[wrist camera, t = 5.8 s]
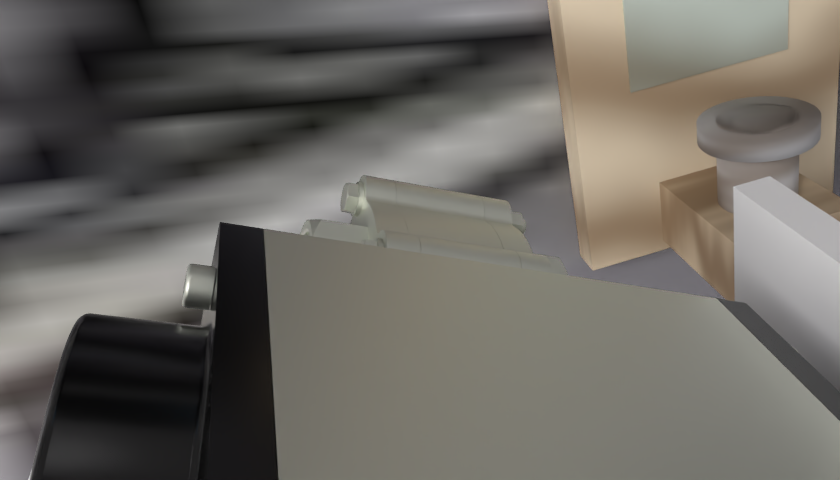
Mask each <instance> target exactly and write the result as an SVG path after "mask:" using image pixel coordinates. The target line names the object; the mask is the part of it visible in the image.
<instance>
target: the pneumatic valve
mask: <svg viewBox="0 0 840 480" xmlns="http://www.w3.org/2000/svg"><path fill="white" fill-rule="evenodd" d="M341 211H342V212H347V213H351V215H352V216H353V217H352V220H351V223H350V224H346V223H340V222H334V221H328V220H317V219H316V220H307V221H306V222H305V223H304V225H303V227H302V230H301V232H300V234H294V233H287V232H281V231H274V230H268V229H261V228H255V227H248V226H242V225H235V224H229V223H222V222H220V224H219V229H218V235H217V240H216V246H215V251H214V256H213V262H212V266H205V265H198V264H190V265H188V268H187V273H186V278H185V285H184V291H183V298H182V305H183V306H184V307H186V308H194V309H202V310H204V311H203V316H202V322H201V326H196V325H187V324H178V323H169V322H160V321H151V320H142V319H134V318H125V317H116V316H108V315H99V314H85V315H83V316H81V317H80V318H79V319H78V320H77V322H76V323H75V325H74V327H73V329H72V331H71V333H70V335H69V337H68V340H67V342H66V345H65V348H64V351H63V354H62V357H61V360H60V363H59V366H58V370H57V373H56V376H55V380H54V383H53V387H52V390H51V394H50V398H49V401H48V405H47V409H46V413H45V417H44V421H43V425H42V429H41V433H40V437H39V441H38V446H37V450H36V454H35V458H34V463H33V467H32V472H31V477H30V480H840V392H839V391H838V390H837V389H836V388H835V387H834V386H833V385H832V384H831V383H830V382H829V381H828V380H827V379H826V378H825V377H823V376H822V375H821V374H820V373H819V372H818V371H817V370H816V369H815V368H814V367H813V366H812V365H811V364H810V363H809V362H808V361H807V360H806V359H804V358H803V357H802V356H801V355H800V354H799V352H798V351H797V350H796V349H795V348H794V347H792V346H791V345H790V344H789V343H788V342H787V341H785V340H784V339H783V338H782V337H781V336H780V335H779V334H778V333H777V332H776V331H775V330H774V329H773V328H772V327H771V326H770V325H769V324H767V323H766V322H765V321H764V320H763V319H762V318H761V317H760V316H759V315H758V314H757V313H756V312H755V311H754V310H753V309H752V308H751V307H750V306H748V305H747V304H746V303H744V302H737V301H731V300H724V299H718V298H711V297H704V296H698V295H691V294H685V293H678V292H672V291H665V290H659V289H652V288H646V287H639V286H633V285H626V284H620V283H613V282H607V281H600V280H594V279H587V278H581V277H574V276H568V274H567V271H566V269H565V267H564V265H563V264H562V262H561V260H560V259H559V258H558V257H552V256H546V255H539V254H533V253H532V250H531V248H530V245H529V243H528V242H527V240H526V238H525V237H524V235H523V234H524V232H525V230H526V222H525V220H523V217H522V214H521V213H517V212H512V211H511V207H510V205H509V203H508V202H507V201H504V200H499V199H493V198H488V197H482V196H477V195H471V194H466V193H460V192H454V191H449V190H443V189H438V188H432V187H427V186H421V185H416V184H410V183H405V182H399V181H394V180H388V179H382V178H377V177H371V176H366V175H363V176H362V177H361V179H360V181H359V182H357V183H356V184H353V183H346V184H345V186H344V188H343V192H342V196H341Z"/></svg>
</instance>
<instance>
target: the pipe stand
mask: <svg viewBox="0 0 840 480" xmlns="http://www.w3.org/2000/svg"><path fill="white" fill-rule="evenodd" d="M547 1H548V9H549V16H550V24H551V32H552V40H553V47H554V55H555V63H556V71H557V78H558V86H559V94H560V101H561V109H562V117H563V125H564V132H565V140H566V148H567V156H568V163H569V171H570V179H571V186H572V194H573V202H574V210H575V217H576V225H577V233H578V241H579V248H580V256H581V257H582V258H583V259H584V261H585V262H586V263H587V264H588V265H589V267H590V268H591V269H592V270H597V269H600V268H603V267H607V266H610V265H614V264H617V263H620V262H624V261H627V260H630V259H634V258H637V257H641V256H644V255H647V254H651V253H654V252H657V251H661V250H664V249H668V248H672V249H673V250H674V251H675V252H676V253H677V254H678V255H679V256H680V257H681V258H683V259H684V260H685V261H686V262H687V263H688V264H689V265H690V266H691V267H692V268H693V269H694V270H695V271H696V272H697V273H698V274H699V275H701V276H702V277H703V278H704V279H705V280H706V281H707V282H708V283H709V284H710V285H711V286H712V287H713V288H714V289H715V290H716V291H717V292H719V293H720V294H721V295H722V296H723V297H724V298H725V299H726V300H731V301H735V288H734V201H733V187H734V186H737V185H741V184H744V183H748V182H751V181H755V180H758V179H761V178H765V177H768V176H770V177H772V178H773V179H775V180H777V181H778V182H780V183H781V184H783V185H784V186H786V187H787V188H789V189H790V190H792V191H793V192H795V193H796V194H798V195H800V196H801V197H803V198H804V199H806V200H807V201H809V202H810V203H812V204H813V205H815V206H816V207H818V208H819V209H821V210H822V211H824V212H826V213H827V214H829V215H830V216H832V217H833V218H835V219H836V220H838V221H839V222H840V197H839V196H837V195H836V194H834V193H833V178H834V159H835V139H836V119H837V100H838V80H839V60H840V0H547Z"/></svg>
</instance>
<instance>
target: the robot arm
mask: <svg viewBox="0 0 840 480" xmlns="http://www.w3.org/2000/svg"><path fill="white" fill-rule="evenodd" d="M733 201H734V288H735V301H737V302H744V303H746V304H747V305H748V306H750V307H751V308H752V309H753V310H754V311H755V312H756V313H757V314H758V315H759V316H760V317H761V318H762V319H763V320H764V321H765V322H766V323H767V324H769V325H770V326H771V327H772V328H773V329H774V330H775V331H776V332H777V333H778V334H779V335H780V336H781V337H782V338H783V339H784V340H785V341H787V342H788V343H789V344H790V345H791V346H792V347H794V348H795V349H796V350H797V351H798V352H799V354H800V355H801V356H802V357H803V358H804V359H806V360H807V361H808V362H809V363H810V364H811V365H812V366H813V367H814V368H815V369H816V370H817V371H818V372H819V373H820V374H821V375H822V376H823V377H825V378H826V379H827V380H828V381H829V382H830V383H831V384H832V385H833V386H834V387H835V388H836V389H837V390H838V391H839V392H840V222H839V221H838V220H836V219H835V218H833V217H832V216H830V215H829V214H827V213H826V212H824V211H822V210H821V209H819V208H818V207H816V206H815V205H813V204H812V203H810V202H809V201H807V200H806V199H804V198H803V197H801V196H800V195H798V194H796V193H795V192H793V191H792V190H790V189H789V188H787V187H786V186H784V185H783V184H781V183H780V182H778V181H777V180H775V179H773V178H772V177H770V176H768V177H765V178H761V179H758V180H755V181H751V182H748V183H744V184H741V185H737V186H734V187H733ZM31 472H32V471H31ZM30 477H31V474H30ZM30 477H29V480H30Z"/></svg>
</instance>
